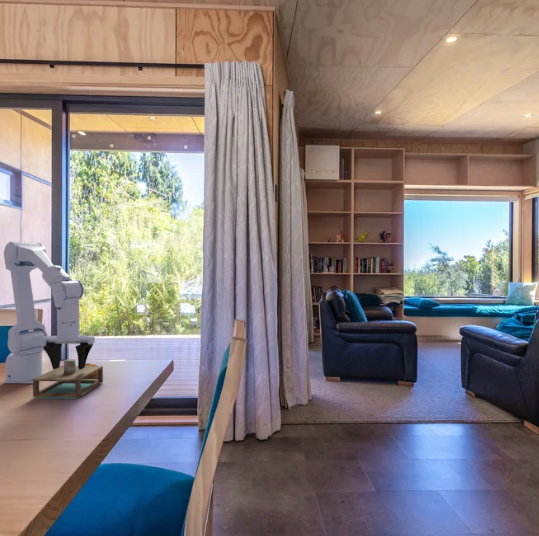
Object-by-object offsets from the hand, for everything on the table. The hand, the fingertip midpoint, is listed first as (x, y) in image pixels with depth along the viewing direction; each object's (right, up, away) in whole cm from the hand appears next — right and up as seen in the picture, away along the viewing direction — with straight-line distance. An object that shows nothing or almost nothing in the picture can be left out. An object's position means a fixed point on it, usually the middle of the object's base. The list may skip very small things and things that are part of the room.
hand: (68, 368), depth 106 cm
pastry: (-1, -7, +14) cm, 16 cm away
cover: (0, -6, 0) cm, 6 cm away
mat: (0, -7, 0) cm, 7 cm away
